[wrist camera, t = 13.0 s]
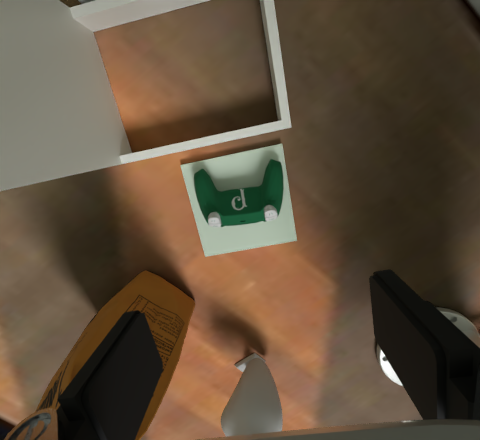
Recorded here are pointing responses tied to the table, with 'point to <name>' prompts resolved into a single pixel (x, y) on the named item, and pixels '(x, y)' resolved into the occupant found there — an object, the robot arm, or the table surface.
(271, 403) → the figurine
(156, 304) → the coffee package
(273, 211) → the gaming controller
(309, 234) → the table surface
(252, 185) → the mat
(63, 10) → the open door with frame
